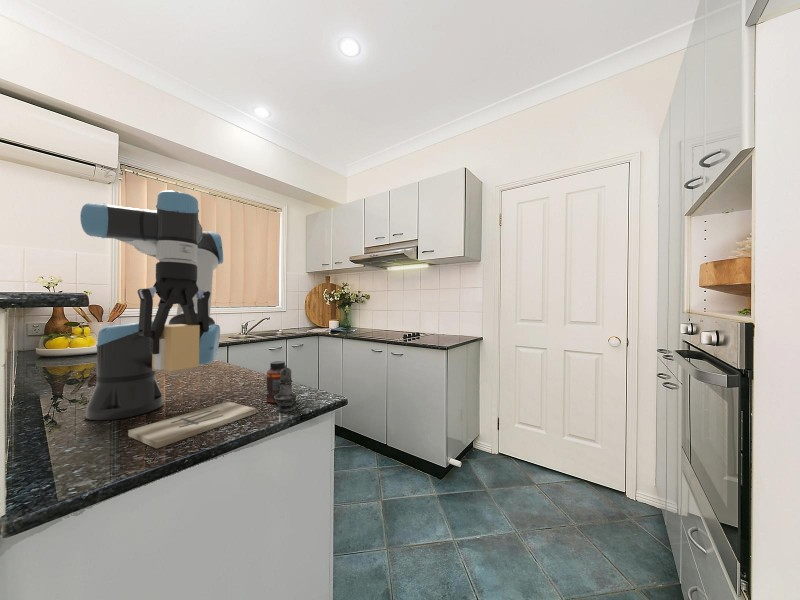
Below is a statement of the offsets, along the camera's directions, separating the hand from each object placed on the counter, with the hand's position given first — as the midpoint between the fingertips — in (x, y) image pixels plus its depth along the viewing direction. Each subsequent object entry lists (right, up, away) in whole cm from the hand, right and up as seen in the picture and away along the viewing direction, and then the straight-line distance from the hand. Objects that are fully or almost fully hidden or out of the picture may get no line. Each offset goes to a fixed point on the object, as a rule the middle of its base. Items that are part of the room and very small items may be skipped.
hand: (175, 366), depth 67 cm
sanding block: (0, -1, 0) cm, 1 cm away
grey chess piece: (+19, -15, +15) cm, 28 cm away
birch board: (+2, -15, +4) cm, 15 cm away
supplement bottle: (+14, -15, +22) cm, 30 cm away
